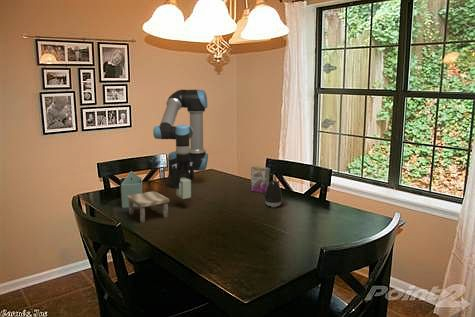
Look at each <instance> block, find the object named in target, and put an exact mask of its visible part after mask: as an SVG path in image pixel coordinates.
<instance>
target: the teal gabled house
mask: <svg viewBox="0 0 475 317" xmlns="http://www.w3.org/2000/svg"><path fill="white" fill-rule="evenodd" d="M131 177H132V180H131ZM124 178H125V177H124ZM140 193H144V192H143V178H142V177H140V176H139V175H138V174H136V173H135V172H133V171H132V170H131V171H130V172H129V173H128V174H127V175H126V178H125V180H124V181H123V182H122V184H121V189H120V198H121V197H122V199H121V208H122V209H124V208H125V209H126V208H129V200H128V199H127V196H129V195H134V194H140ZM137 207H139V206H138V205H136V204H135V203H133V208H137ZM139 208H140V207H139Z"/></svg>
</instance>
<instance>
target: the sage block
mask: <svg viewBox="0 0 475 317" xmlns="http://www.w3.org/2000/svg"><path fill="white" fill-rule="evenodd" d="M179 183H181V195H179V194H177V189H176V188H175V193H176V194H175V195H176V196H177V197H178V198H181V199H183V200H185V199H190V198H192V182H191V180H189V179H187V178H185V177H182V178H180V182H179Z"/></svg>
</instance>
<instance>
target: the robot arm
mask: <svg viewBox="0 0 475 317" xmlns="http://www.w3.org/2000/svg"><path fill="white" fill-rule="evenodd" d="M165 105H166V108H165V110H164V112H163V115H162V118H161V121H160V123H159V125H155V126H153V130H152V132H153V138H154V139H157V140H175V150H174V151H171V152H170V153H168V157H167V161H168V176H167V178H166V182H165V185H166V186H167V187H168V188H174V189H175V190H176V189H177V194H179V195H181V183H179V182H180V178H182V177H185V178H187V179H189V180H191V183H192V181H194V180H195V171H196V172H197V171H198V172H200V171H205V170H206V169H207V166H208V159H209V154H208V153H206V152H207V150H206V149H205V148H204V113H205V111H206V109H208V97H207V93H206V91H205V90H202V89H179V90H176V91H174V92H173V93H172V94H170V96H168V98H167V100H166V104H165ZM184 108H185V109H186V108H187V109H186V110H187V112H188V113H189V125H188V124H178V125H176V126H175V125H174V124H175V121H176V118H177V116H178V112H179V110H181V109H184Z"/></svg>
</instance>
